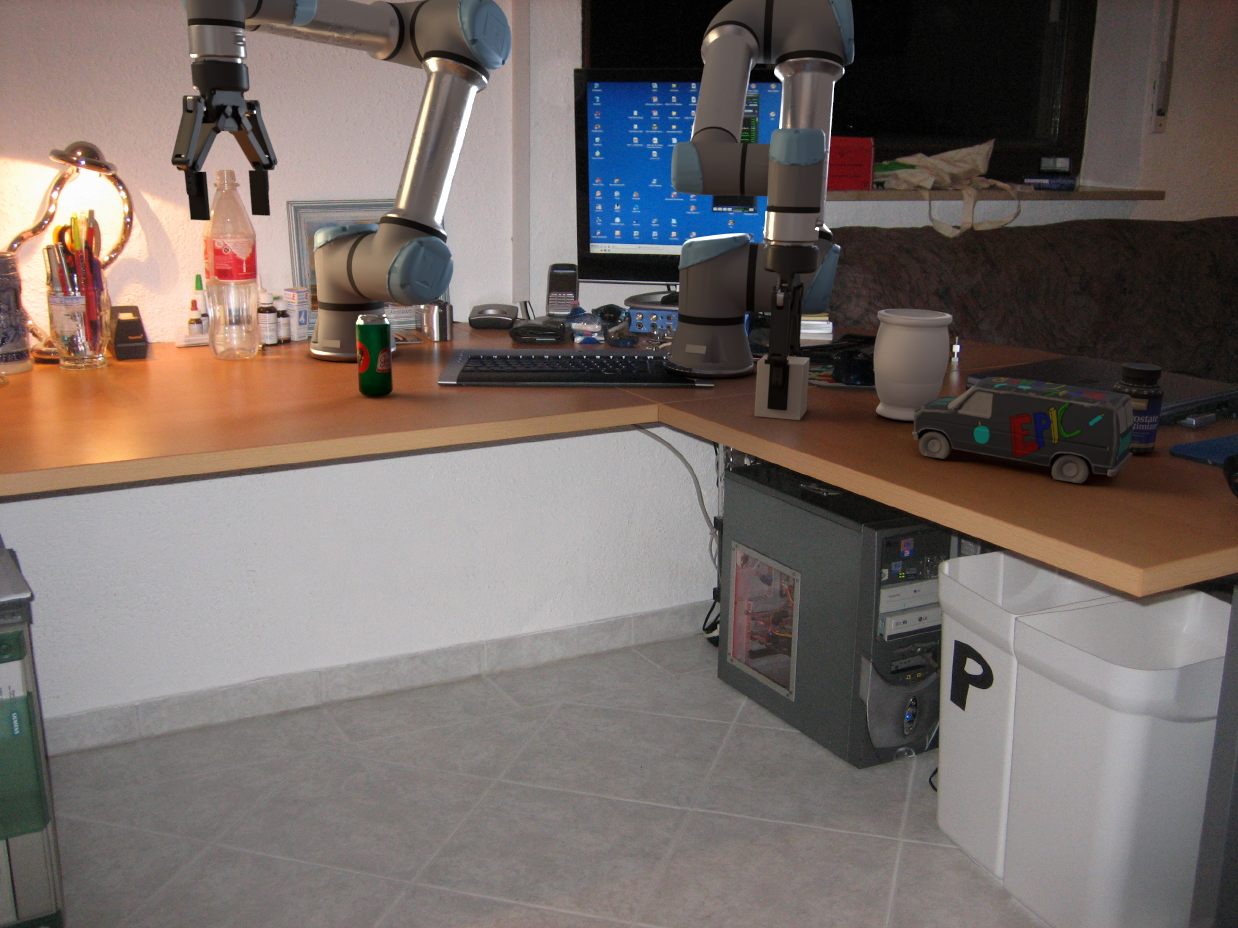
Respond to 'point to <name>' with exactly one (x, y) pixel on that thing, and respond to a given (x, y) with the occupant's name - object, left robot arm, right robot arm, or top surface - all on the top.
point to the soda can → (374, 355)
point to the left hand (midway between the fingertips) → (232, 218)
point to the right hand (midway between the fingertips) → (781, 403)
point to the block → (795, 389)
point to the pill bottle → (1142, 402)
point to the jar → (910, 360)
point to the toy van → (1032, 426)
